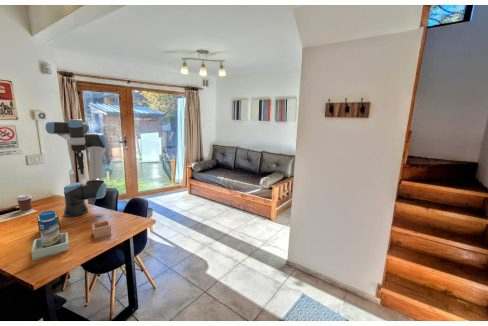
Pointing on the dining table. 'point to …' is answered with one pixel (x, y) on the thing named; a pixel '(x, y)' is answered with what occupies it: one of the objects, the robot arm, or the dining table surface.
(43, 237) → the beverage bottle
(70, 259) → the dining table surface
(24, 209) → the coffee cup
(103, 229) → the pink box
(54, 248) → the green box
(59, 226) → the puzzle cube
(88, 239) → the dining table surface
